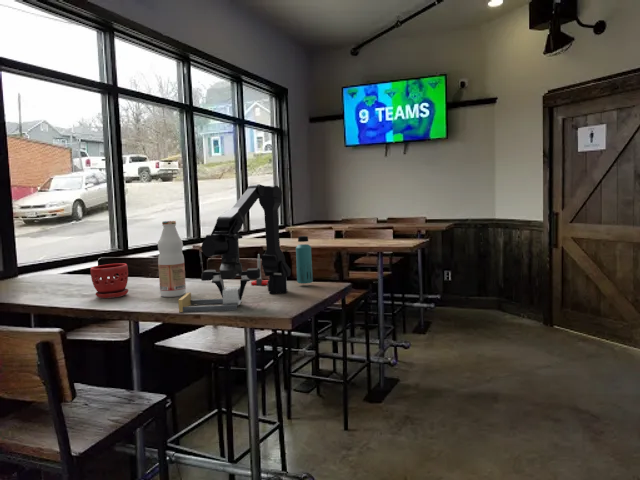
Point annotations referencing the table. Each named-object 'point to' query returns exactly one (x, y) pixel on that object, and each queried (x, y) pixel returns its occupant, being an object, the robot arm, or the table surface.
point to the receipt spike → (259, 280)
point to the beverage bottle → (304, 261)
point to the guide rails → (186, 302)
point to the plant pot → (110, 280)
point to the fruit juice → (171, 262)
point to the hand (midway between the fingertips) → (232, 300)
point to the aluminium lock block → (231, 296)
